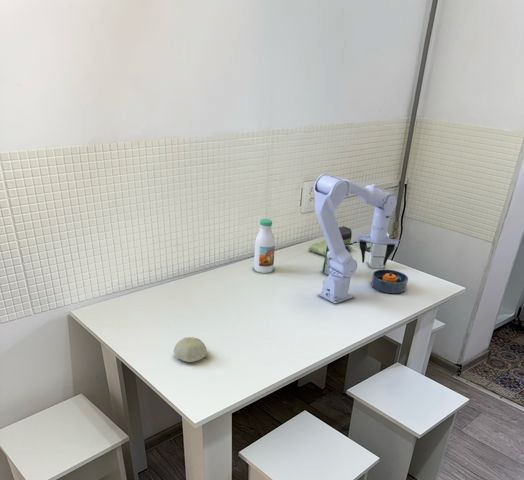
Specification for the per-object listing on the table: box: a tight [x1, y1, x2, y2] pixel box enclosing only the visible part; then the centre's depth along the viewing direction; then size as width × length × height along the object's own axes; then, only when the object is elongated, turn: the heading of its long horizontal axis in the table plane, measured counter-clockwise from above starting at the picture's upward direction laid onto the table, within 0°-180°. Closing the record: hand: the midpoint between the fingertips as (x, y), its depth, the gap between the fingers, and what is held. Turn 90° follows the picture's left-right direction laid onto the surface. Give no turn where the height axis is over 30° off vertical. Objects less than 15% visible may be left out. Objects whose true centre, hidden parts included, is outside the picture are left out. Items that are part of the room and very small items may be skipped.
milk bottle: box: [253, 218, 276, 274], centre depth 191 cm, size 8×8×20 cm
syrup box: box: [368, 232, 390, 269], centre depth 202 cm, size 6×6×14 cm
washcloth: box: [308, 239, 353, 257], centre depth 217 cm, size 13×18×3 cm
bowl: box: [370, 268, 409, 294], centre depth 186 cm, size 13×13×4 cm
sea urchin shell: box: [173, 336, 207, 363], centre depth 138 cm, size 9×8×8 cm
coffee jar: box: [322, 225, 353, 276], centre depth 192 cm, size 10×8×19 cm
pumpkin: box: [382, 273, 397, 283], centre depth 186 cm, size 6×6×5 cm
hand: (373, 263), depth 180 cm, fingers open, 7 cm apart
